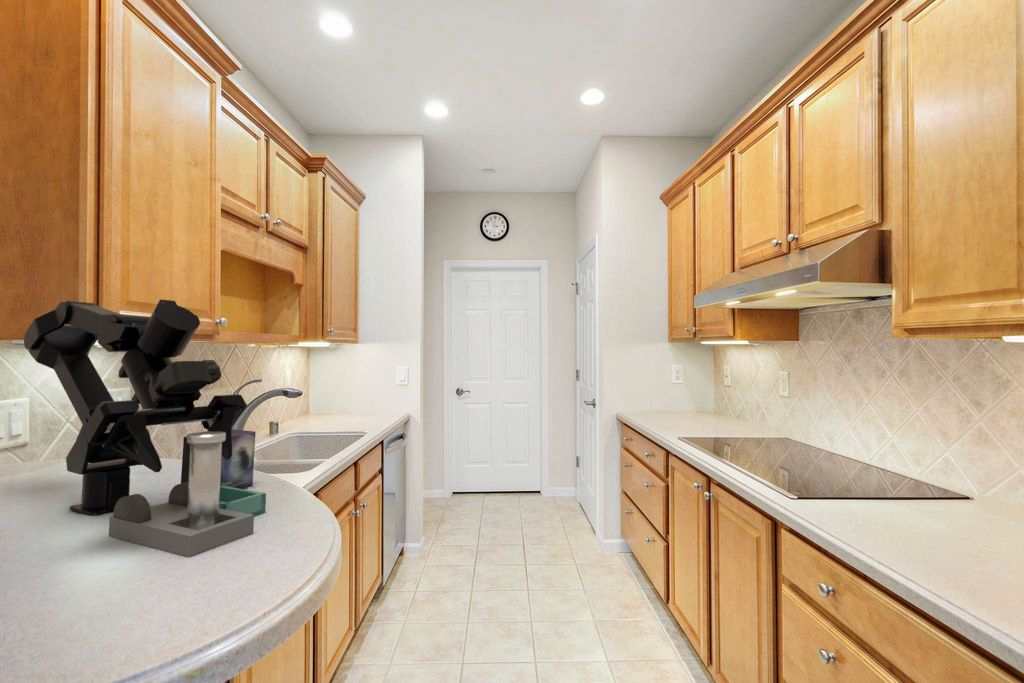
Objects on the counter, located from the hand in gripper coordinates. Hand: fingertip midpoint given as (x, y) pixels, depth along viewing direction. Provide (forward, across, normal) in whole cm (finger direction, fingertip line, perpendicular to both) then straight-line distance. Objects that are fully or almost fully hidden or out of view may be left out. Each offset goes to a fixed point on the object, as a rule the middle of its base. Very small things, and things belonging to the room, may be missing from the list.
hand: (196, 463), depth 66 cm
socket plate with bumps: (+5, 0, +8) cm, 10 cm away
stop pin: (+8, 0, +6) cm, 10 cm away
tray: (+3, +8, +11) cm, 14 cm away
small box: (-6, +15, +20) cm, 26 cm away
